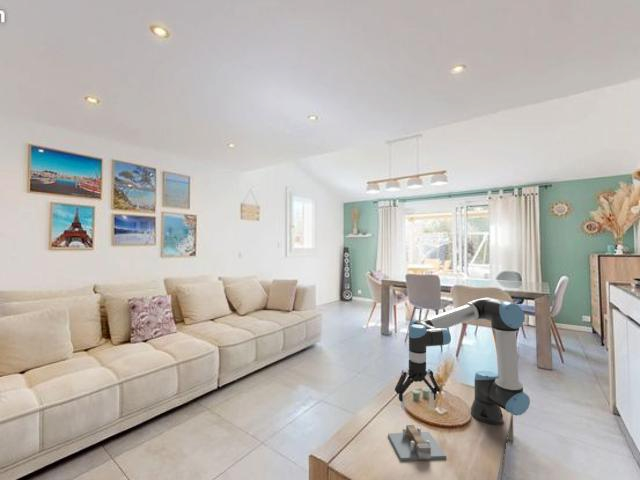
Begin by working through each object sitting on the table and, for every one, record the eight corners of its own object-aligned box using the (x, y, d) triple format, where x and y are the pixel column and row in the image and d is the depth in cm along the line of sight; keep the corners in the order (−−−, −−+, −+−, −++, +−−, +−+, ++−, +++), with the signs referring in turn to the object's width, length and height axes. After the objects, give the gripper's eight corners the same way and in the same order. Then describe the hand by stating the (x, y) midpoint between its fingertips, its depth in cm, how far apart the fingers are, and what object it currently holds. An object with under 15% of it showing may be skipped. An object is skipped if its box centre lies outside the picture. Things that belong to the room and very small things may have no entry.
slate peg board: (428, 434, 140) (428, 423, 140) (446, 458, 124) (446, 446, 124) (388, 435, 138) (388, 424, 138) (400, 460, 122) (401, 448, 122)
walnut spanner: (404, 434, 137) (404, 425, 137) (414, 434, 138) (415, 424, 138) (419, 458, 122) (419, 448, 122) (430, 458, 122) (430, 447, 122)
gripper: (439, 356, 137) (439, 401, 137) (387, 357, 134) (387, 404, 134) (448, 362, 129) (447, 410, 129) (393, 364, 127) (393, 413, 127)
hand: (417, 407), depth 132 cm, fingers open, 13 cm apart
